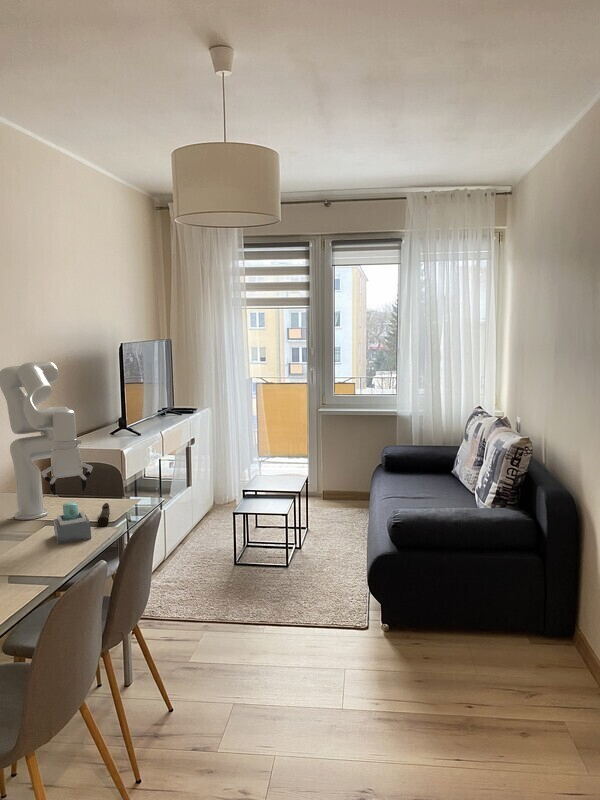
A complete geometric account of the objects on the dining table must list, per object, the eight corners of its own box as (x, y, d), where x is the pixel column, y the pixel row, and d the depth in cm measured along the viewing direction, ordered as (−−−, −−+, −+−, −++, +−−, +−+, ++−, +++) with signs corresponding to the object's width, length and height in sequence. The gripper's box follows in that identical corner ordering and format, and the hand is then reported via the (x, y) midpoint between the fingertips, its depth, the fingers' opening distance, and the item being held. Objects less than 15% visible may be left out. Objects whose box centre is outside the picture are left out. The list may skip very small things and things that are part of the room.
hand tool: (108, 526, 242) (108, 514, 241) (97, 527, 241) (97, 515, 240) (114, 512, 260) (113, 501, 260) (104, 513, 260) (103, 502, 259)
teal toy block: (63, 520, 230) (61, 503, 229) (77, 517, 232) (76, 501, 232) (65, 525, 224) (64, 508, 224) (80, 522, 227) (79, 505, 226)
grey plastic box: (54, 535, 232) (53, 515, 231) (86, 530, 237) (85, 510, 236) (58, 544, 222) (56, 523, 222) (91, 538, 227) (89, 518, 226)
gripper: (89, 440, 233) (92, 486, 235) (38, 445, 225) (41, 492, 228) (93, 444, 226) (95, 491, 229) (40, 449, 219) (43, 498, 221)
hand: (68, 492), depth 228 cm, fingers open, 9 cm apart
